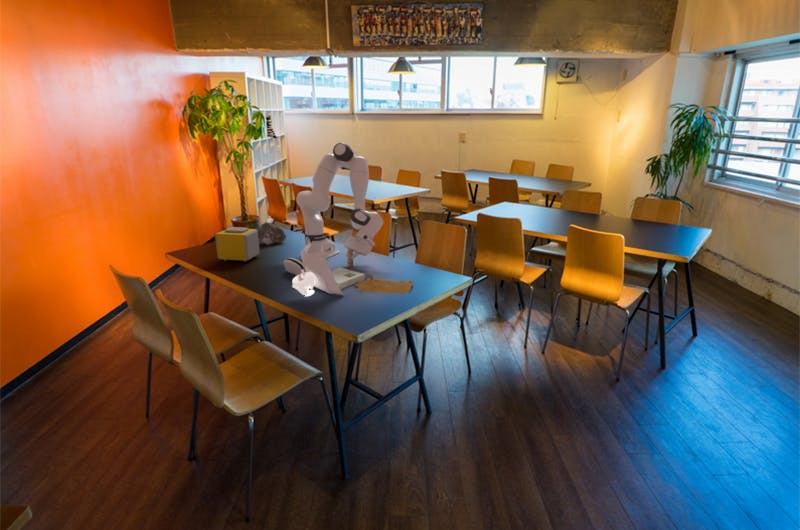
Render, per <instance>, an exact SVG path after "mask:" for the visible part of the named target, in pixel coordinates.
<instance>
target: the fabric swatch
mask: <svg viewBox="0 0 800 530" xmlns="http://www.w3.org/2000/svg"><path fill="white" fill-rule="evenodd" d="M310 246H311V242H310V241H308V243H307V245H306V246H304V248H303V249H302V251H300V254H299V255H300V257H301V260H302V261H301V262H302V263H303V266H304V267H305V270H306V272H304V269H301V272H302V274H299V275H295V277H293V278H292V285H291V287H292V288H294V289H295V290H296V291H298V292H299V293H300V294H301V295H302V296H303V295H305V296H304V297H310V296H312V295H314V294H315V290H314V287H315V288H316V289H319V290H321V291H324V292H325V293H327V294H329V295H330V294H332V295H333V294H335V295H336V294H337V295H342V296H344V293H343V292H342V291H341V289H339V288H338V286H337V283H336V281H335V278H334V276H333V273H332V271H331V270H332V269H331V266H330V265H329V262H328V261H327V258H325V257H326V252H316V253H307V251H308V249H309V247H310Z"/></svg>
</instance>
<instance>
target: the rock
mask: <svg viewBox="0 0 800 530" xmlns="http://www.w3.org/2000/svg"><path fill="white" fill-rule="evenodd" d="M257 231H258V240H260V241H262V242H263V243H264V244H265V245H266V246H270V245H273V244H276V243H278V244H283V242H284V241H285V240H286V239H287V235H286V234H285V232H284V229H282V228H280V227H279V226H278V225H276V224H273V223H272V222H268V221H265V222H263V223H261V224H260V225H259V227H258V229H257Z"/></svg>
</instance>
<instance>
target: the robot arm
mask: <svg viewBox="0 0 800 530" xmlns="http://www.w3.org/2000/svg"><path fill="white" fill-rule="evenodd" d="M339 169H341V170H346V171H349V182H350V187H351V192H352V195H353V201H354V202H353V204H354V205H353V207H354V208H353V210H352V211H351V212H350V215H349V216H350V226H351V228H352V230H353V231H355V232H357V233H356V234H354V235H351V236H350V237H349V238H348V239H347V240H346V241H345V242H344V243H343V247H344V248H345V249H346V250H347V251H348V250H349V249H351V250H352V251H353V255H351V256H350V258H351V259H353V260H355V258H356V257H358V256H359V255H360V256H363V257H366V256H368V255H369V254H370V252H371V251H372V249H373V247H374V246H375V245H376V243H375V242H374V241H373V239H374V237H375V235H376V234H377V233H378V232H379V231H380V229H381V228H382V226H383V224H384V219H383V216H381V214H380V213H378V212H377V211H367V210H366V195H367V190H368V186H369V182H370V181H369V180H370V170H369V164H368V159H367V158H365V157H363V156H359V155H357V153H356V152H355V150H353V148H352V147H351V146H350V145H349V144H348V143H346V142H343V141H341V142H337V143H336V144H335V145H334V146H333V149H332V153H330V152H328V153H326V154H324V156H323V157H322V159H321V160H320V162H319V164H318V166H317V167H316V170H315V172H314V174H313V176H312V182H313V186H312V190H302V191H300V192H298V194H297V196H296V203H297V205H298V206H299V208H300V211H301V213H302V217H303V222H304V240H305V241H304V242H305V243H304V244H305V246H306V245H307V243H308V241H310V242H311V246H310V247H309V249H308V251H307V253H316V252H326V257H325V258H326V259H328V258H330V257H333V256H335V255H338V254H339V253H340V250H338V249H336V244H335V243H334V242H333V241H332V240H330V239H329V238H327V237H329V236H330V233H329V232H325V229H324V227H325V226H324V219H323V217H322V216H321V212H326V211H327V210H329V208H330V205H331V200H330V196H329V195H330V189H331V185H332V183H333V181H334V178H335V176H336V173H337V171H338V170H339ZM305 246H304V247H305ZM345 257H346V258H347V253H346V254H345Z"/></svg>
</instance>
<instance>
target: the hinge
mask: <svg viewBox="0 0 800 530" xmlns="http://www.w3.org/2000/svg"><path fill="white" fill-rule="evenodd" d="M282 263H283V266H284V269H285V271H286V272H287V271H288V272H287V273H289V272H290V274H292V273H293V274H292V275H294V274H295V276H297V275H299V274H302V272H301V269H304V272H306V270H305V267H304V266H303V261H301V260H298V259H297V258H294V257H289V258H286V259H285V260H283V262H282Z"/></svg>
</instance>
